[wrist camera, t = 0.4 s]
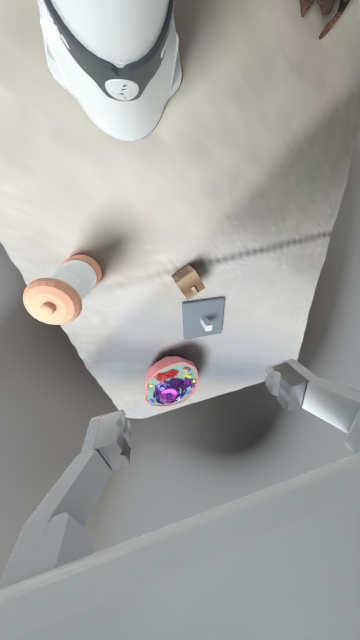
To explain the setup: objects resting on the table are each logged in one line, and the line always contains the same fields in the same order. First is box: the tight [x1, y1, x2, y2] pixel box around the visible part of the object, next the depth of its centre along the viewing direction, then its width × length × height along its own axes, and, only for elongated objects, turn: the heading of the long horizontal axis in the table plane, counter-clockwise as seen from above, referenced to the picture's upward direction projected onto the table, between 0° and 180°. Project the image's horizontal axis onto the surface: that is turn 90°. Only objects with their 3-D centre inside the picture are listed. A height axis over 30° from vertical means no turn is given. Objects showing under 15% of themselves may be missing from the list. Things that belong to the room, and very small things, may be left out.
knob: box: [171, 264, 205, 300], centre depth 41 cm, size 5×5×7 cm
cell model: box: [144, 356, 199, 406], centre depth 54 cm, size 17×20×11 cm
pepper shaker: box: [23, 254, 102, 325], centre depth 30 cm, size 7×7×19 cm
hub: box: [182, 297, 224, 339], centre depth 49 cm, size 12×12×6 cm
